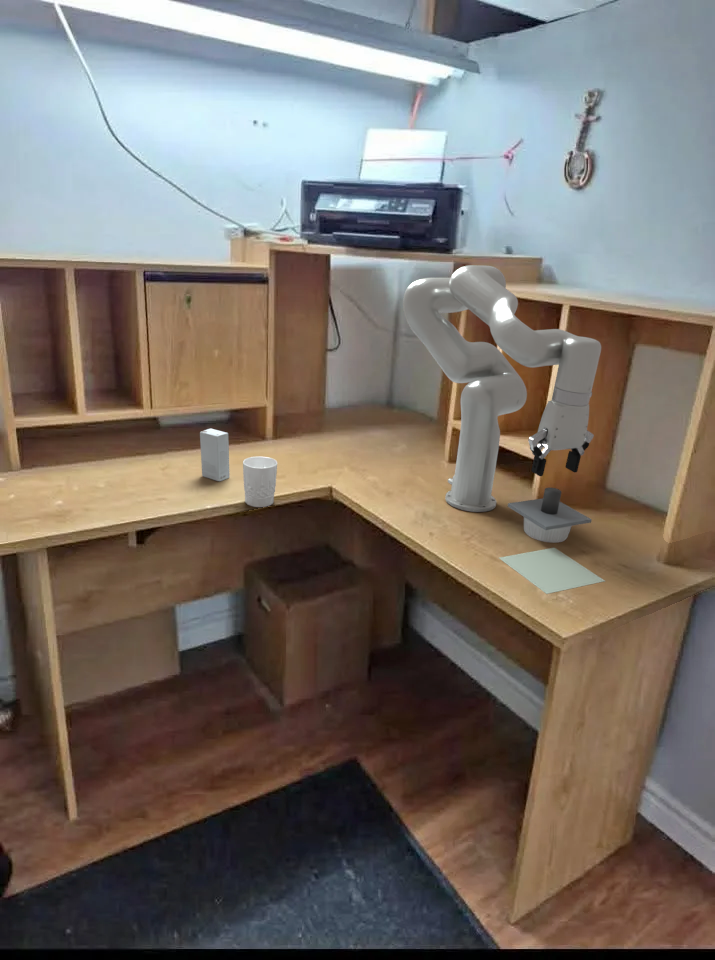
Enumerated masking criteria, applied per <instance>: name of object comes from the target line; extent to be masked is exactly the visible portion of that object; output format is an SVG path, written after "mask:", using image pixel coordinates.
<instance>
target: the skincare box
mask: <svg viewBox="0 0 715 960" xmlns="http://www.w3.org/2000/svg"><path fill="white" fill-rule="evenodd" d="M199 439H200V441H199V443H200V458H201V459H200V460H201V461H200V462H201V476H202V477H204V478H207V479H210V480H213V481H217V482H223V481H225V480H228V479H229V478H230V475H231V474H230V453H229V451H230V450H229V449H230V447H229V444H230V443H229V433H228V432H225V431H222V430H218V429H214V428H207V429H204V430H202V431H200V432H199Z"/></svg>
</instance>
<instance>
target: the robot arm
mask: <svg viewBox="0 0 715 960" xmlns="http://www.w3.org/2000/svg"><path fill="white" fill-rule="evenodd" d="M506 287H507V283H506V277H505V276H504V274H503V272H502V271H501V270H500V269H499V268H497V267H495V266H492V265H478V264H477V265H475V264H473V265H472V264H471V265H470V264H469V265H465V266H464V265H463V266H461V267H459V268H458V269H456V270H455V271H454V272H453V273H452V274H451V276H450V277H424V278H420V279H417V280H414V281H413V282H411V283H410V284H409V285H408V286H407V288H406V289H405V291H404V294H403V300H402V307H403V313H404V314H403V315H404V318H405V320H406V323H407V325H408V326H409V329H410V330H411V331H412V333H413V334H414V335H415V336H416V337H417V338H418V339H419V341H420V342H421V343H422V344H423V346H424V347H425V348H426V350H427V351H428V352H429V354H430V355H431V356H432V358H433V359H434V361H435V362H436V363H437V365H438V366H439V367H440V369H441V370H442V371H443V373H444V374H445V376H446V377H447V378H448V379H449V380H450V381H451V382H452V383H455V384H465V386H464V388H462V389H463V390H462V391H461V395H460V412H461V414H460V415H461V416H460V418H461V419H460V432H459V439H458V447H457V453H456V455H457V456H456V462H455V471H454V475H453V476H452V477H450V478H448V479H447V483H448V484H450V485H451V487H450V488H451V489H450V490H449V491H448V492H446V494H445V502H446V503H447V504H449V505H450V507H453V508H456V509H458V510H462V511H466V512H473V513H485V512H490V511H492V510H494V509H495V508H496V507H497V499H496V498H495V497H494V496H493V495H492V493H493V485H494V480H495V473H496V466H497V461H498V454H499V449H500V440H501V430H500V429H501V428H500V426H499V420H498V417H500V416H503V415H506V414H507V415H508V414H512V413H514V412H515V413H516V412H517V411H519V410H520V409H522V408H523V407H524V405H525V404H526V401H527V397H528V392H527V387H526V385H525V383H524V380H523V378H522V377H521V376H520V375H519V373H518V372H517V371H516V369H515V368H514V367H513V366H512V365H511V363H510V362H509V361H508V359H507V358H506V357H505V355H504V354H503V353H502V352H501V351H500V349H501V350H502V351H503V352H504V353H505V354H506V355H508V356H509V357H510V358H511V359H512V360H514V361H515V362H516V363H519V364H520V365H521V366H524V367H526V368H540V367H546V366H557V365H558V368H557V371H556V377H555V381H554V386H553V392H552V395H551V396H552V397H551V400H548V401H547V403H546V406H545V407H544V410H543V413H542V415H541V419H540V422H539V426H538V428H537V432H536V433H535V434H533V435H531V436H529V438H528V444H529V449H530V451H531V453H532V455H533V461H532V466H531V472H532V473H533V474H536V475H537V476H539V477H543V476H544V473H545V468H546V464H547V459H546V457H547V455H548V454H549V453H550V452H551V451H561V450H562V451H563V450H568V453H567V458H566V462H565V469H567V470H569V471H570V472H572V473H577V472H578V470H579V466H580V461H581V458H582V457H581V456H583V455H584V454H585V451H586V450H587V448H589V446H590V443H591V441H593V438H594V436H595V435H594V434H593V433H592V432H591V431H589V430H588V425H589V418H590V399H591V397H592V395H593V392H592V391H593V390H592V389H593V386H594V382H595V377H596V374H597V369H598V366H599V361H600V356H601V352H602V344H601V342H600V341H599V340H597V339H595V338H591V337H586V336H578V335H576V334H573V333H571V332H568V331H567V330H564V329H561V328H559V329H558V328H551V329H537V330H534V329H532V328H531V327H529V326H528V325H527V324H525V323H524V322H522V321H521V320H520V319H519V318H518V317H517V316H516V315H515V314H516V311H517V309H518V305H519V301H518V298H517V296H516V295H515V294H514V293H512V292H511V291H510V290H509V289H507V288H506ZM467 310H469V311H470V312H471V313H473V315H475V316H476V317H478V318H479V319H480V320H481V321H482V322H483V323H485V324H486V325H488V327H489V329H490V330H489V331H490V334H491V336H492V338H493V341H494V343H495V344H496V345H497V346H495V345H494V344H491V343H489V342H487V341H486V342H485V341H475V342H474V341H473V342H471V341H468V340H466V339H465V337H463V335H462V334H461V333H460V332H459V330H458V329H457V328H456V326H455V325H454V324H453V323H452V322H450V321H449V320H448V319H446V317H443V315H441V314H449V313H451V314H452V313H459V312H460V313H461V312H463V311H467ZM497 347H498V348H497ZM569 449H570V450H569Z"/></svg>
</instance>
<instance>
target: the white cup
mask: <svg viewBox="0 0 715 960" xmlns="http://www.w3.org/2000/svg"><path fill="white" fill-rule="evenodd" d="M277 473H278V460H276V459H275V458H273V457H269V456H251V457H250V456H249V457H247V458H244V460H243V461H242V474H243V477H242V478H243V490H244V502H245V504H247V506H250V507H255V508H266V507H269V506H271V505H273V504H274V500H275V492H276V487H277V485H276V484H277Z"/></svg>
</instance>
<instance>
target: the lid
mask: <svg viewBox="0 0 715 960" xmlns="http://www.w3.org/2000/svg"><path fill="white" fill-rule="evenodd" d="M561 496H562V490H560V489H559V488H556V487H545V488H544V491H543V498H537V499H536V498H535V499H530V500H529V499H528V500H522V501H515V502H509V503H507V508H509V509H510V510H512V511H514V512H516V513H518V515H521V516H522V517H523V518H524V517H525V518H527V519H528V520H530V521H531V522H533V523H535V524H536V525H538V526H539V527H541V528H543V529H544V530H550V529H556V528H562V527H568V526H572V527H573V526H579V525H583V524H585V525H586V524H591V523H592V520H593V519H592V518H590V517H589V516H587V515H585V514H583V513H581V512H579V511H578V510H576V509H574V508H572V507H570V506H569V505H567V504H565V503H563V502H562V501H561Z"/></svg>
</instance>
